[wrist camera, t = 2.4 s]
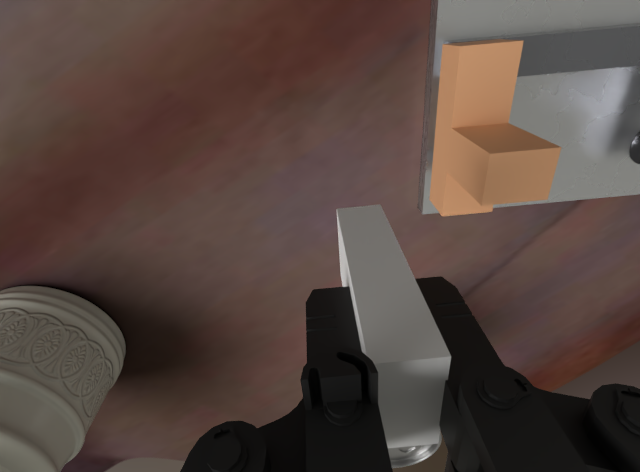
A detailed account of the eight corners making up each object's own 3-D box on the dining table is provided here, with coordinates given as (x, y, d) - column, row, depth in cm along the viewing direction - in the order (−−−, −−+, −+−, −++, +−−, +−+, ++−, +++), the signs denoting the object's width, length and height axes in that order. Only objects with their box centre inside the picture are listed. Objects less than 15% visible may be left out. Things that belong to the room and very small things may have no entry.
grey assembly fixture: (432, -8, 21) (531, -34, 12) (770, -39, 21) (1122, -88, 12) (417, 207, 28) (473, 292, 19) (671, 183, 28) (845, 257, 19)
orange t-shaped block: (429, 42, 21) (506, 51, 13) (480, 38, 21) (589, 44, 13) (419, 186, 25) (472, 257, 18) (461, 182, 25) (533, 251, 18)
